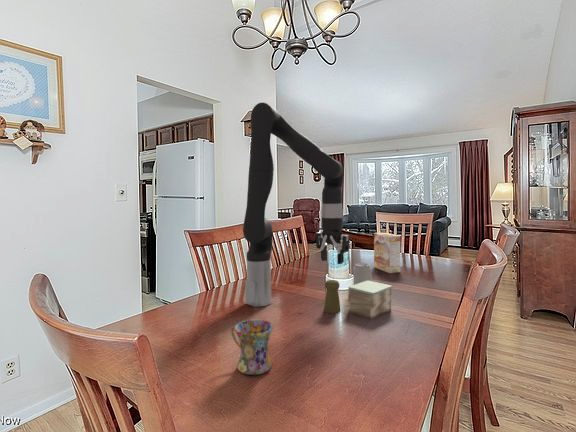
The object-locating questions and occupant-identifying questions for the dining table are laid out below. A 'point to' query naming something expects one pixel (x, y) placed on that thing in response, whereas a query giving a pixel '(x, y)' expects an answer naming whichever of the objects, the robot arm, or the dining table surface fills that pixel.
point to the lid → (370, 287)
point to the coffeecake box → (387, 252)
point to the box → (369, 303)
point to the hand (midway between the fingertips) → (332, 262)
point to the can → (361, 273)
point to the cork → (332, 297)
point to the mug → (253, 346)
